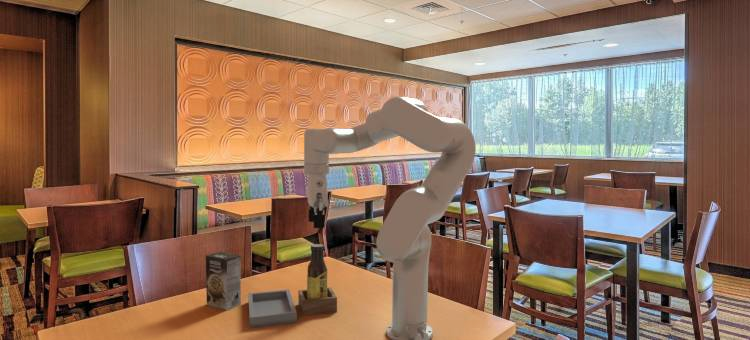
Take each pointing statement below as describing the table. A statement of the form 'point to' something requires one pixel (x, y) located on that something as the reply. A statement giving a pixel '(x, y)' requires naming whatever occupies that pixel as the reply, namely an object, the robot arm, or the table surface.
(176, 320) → the table surface
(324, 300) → the open wooden box frame
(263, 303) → the tray
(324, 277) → the sauce bottle
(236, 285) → the coffee box
